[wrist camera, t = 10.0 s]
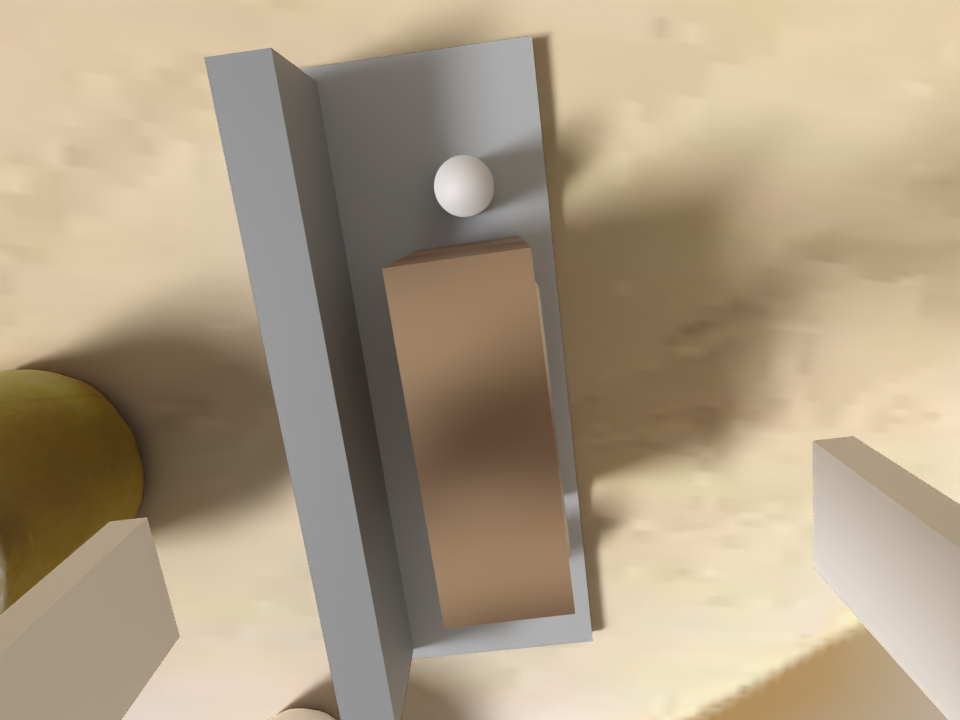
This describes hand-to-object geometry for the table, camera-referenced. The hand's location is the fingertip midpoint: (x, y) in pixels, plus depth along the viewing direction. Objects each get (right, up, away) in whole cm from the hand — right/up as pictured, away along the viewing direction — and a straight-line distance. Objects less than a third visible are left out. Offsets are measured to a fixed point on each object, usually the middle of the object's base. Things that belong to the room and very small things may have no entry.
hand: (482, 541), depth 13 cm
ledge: (-2, +3, +14) cm, 14 cm away
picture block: (0, +3, +13) cm, 14 cm away
